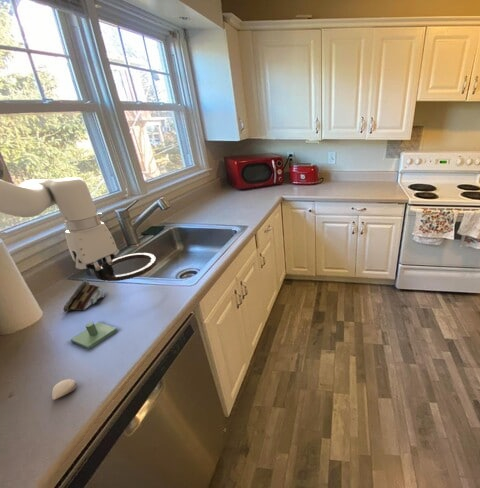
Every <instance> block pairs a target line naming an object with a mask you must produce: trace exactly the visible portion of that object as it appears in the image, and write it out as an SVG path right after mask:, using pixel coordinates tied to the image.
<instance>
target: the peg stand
mask: <svg viewBox="0 0 480 488" xmlns="http://www.w3.org/2000/svg"><path fill="white" fill-rule="evenodd" d="M84 327H85V330H83V331H82V332H80V333H79V334H77V335H75V336H73V337H72V338H70V342H71V343H74V344H76V345H79V346H80V347H83V348H86V349H88V350H91V349H92V348H94V347H96V346H97V345H98V344H100V343H102V341H104V340H106V339H107V338H109V337H110V336H112V335H113V334H115V333H116V332H117V331H118V328H116V327H114V326H112V325H109V324H106V323H103V322H101V321H98V322H96V323H94V321H91V322H87V323H86V324H85V326H84Z"/></svg>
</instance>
